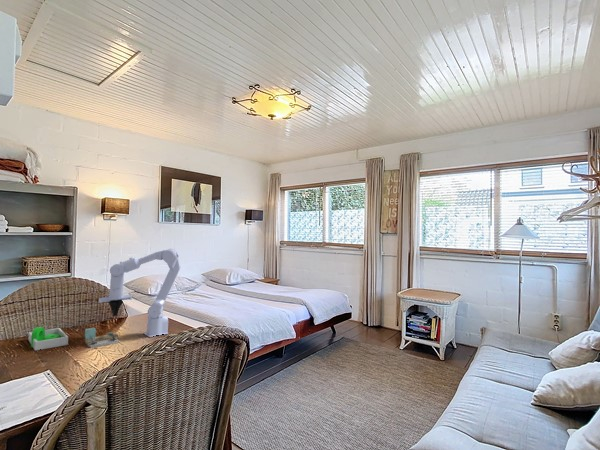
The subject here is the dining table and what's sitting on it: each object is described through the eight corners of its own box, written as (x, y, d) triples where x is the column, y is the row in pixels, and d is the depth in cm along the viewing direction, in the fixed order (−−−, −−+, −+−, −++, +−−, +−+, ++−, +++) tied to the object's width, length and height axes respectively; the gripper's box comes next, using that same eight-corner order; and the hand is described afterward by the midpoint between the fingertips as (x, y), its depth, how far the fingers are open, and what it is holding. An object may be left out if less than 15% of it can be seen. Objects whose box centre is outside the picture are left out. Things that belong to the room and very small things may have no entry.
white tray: (59, 335, 157) (59, 327, 157) (67, 344, 145) (68, 336, 145) (28, 340, 149) (28, 332, 149) (34, 350, 137) (35, 342, 137)
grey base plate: (115, 337, 158) (116, 331, 158) (120, 340, 153) (121, 334, 154) (84, 342, 149) (85, 336, 149) (89, 346, 144) (89, 339, 144)
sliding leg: (93, 338, 151) (94, 327, 151) (97, 342, 146) (98, 331, 147) (84, 339, 149) (85, 328, 149) (88, 343, 144) (89, 332, 144)
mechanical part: (45, 347, 141) (46, 329, 142) (30, 347, 141) (31, 329, 141) (62, 338, 153) (63, 321, 153) (48, 338, 152) (49, 321, 153)
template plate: (115, 339, 154) (115, 337, 154) (118, 342, 151) (119, 340, 151) (87, 345, 146) (87, 342, 146) (90, 348, 142) (90, 345, 142)
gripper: (129, 285, 169) (127, 311, 169) (97, 288, 159) (95, 315, 158) (134, 287, 164) (132, 314, 164) (102, 290, 154) (100, 318, 153)
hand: (114, 315), depth 161 cm, fingers closed
